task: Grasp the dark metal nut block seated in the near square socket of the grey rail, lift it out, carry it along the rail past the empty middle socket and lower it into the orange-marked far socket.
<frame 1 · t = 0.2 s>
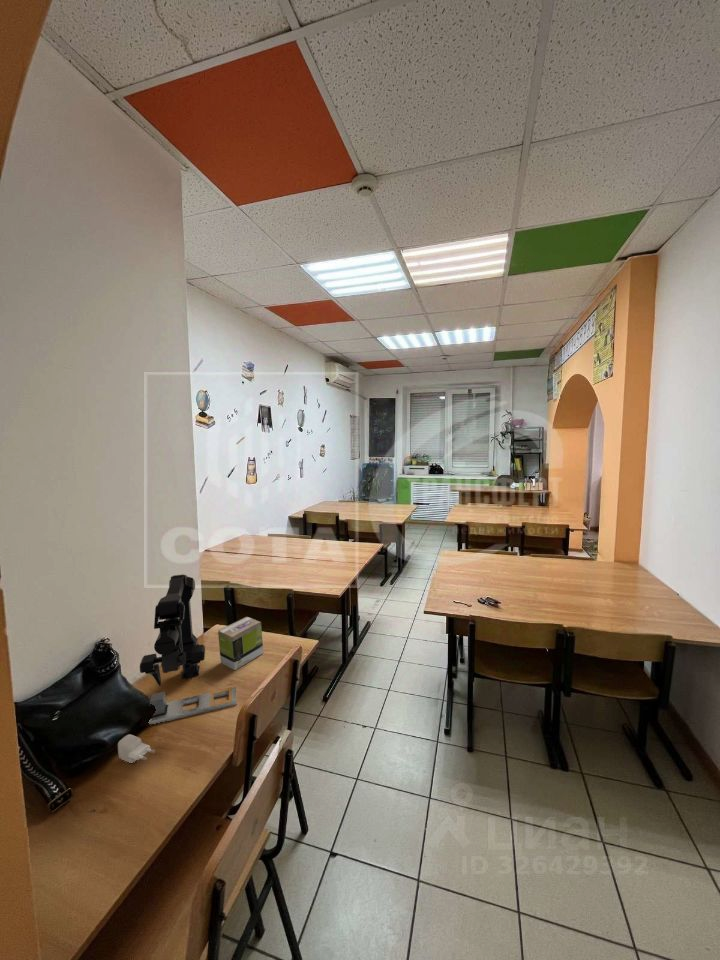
hand: (175, 682, 125), 14 cm above the table, fingers open, 9 cm apart
nut block: (159, 715, 129), resting in rail
tea box: (242, 658, 161), on the table
rail: (191, 708, 132), on the table
power adapter: (137, 761, 111), on the table
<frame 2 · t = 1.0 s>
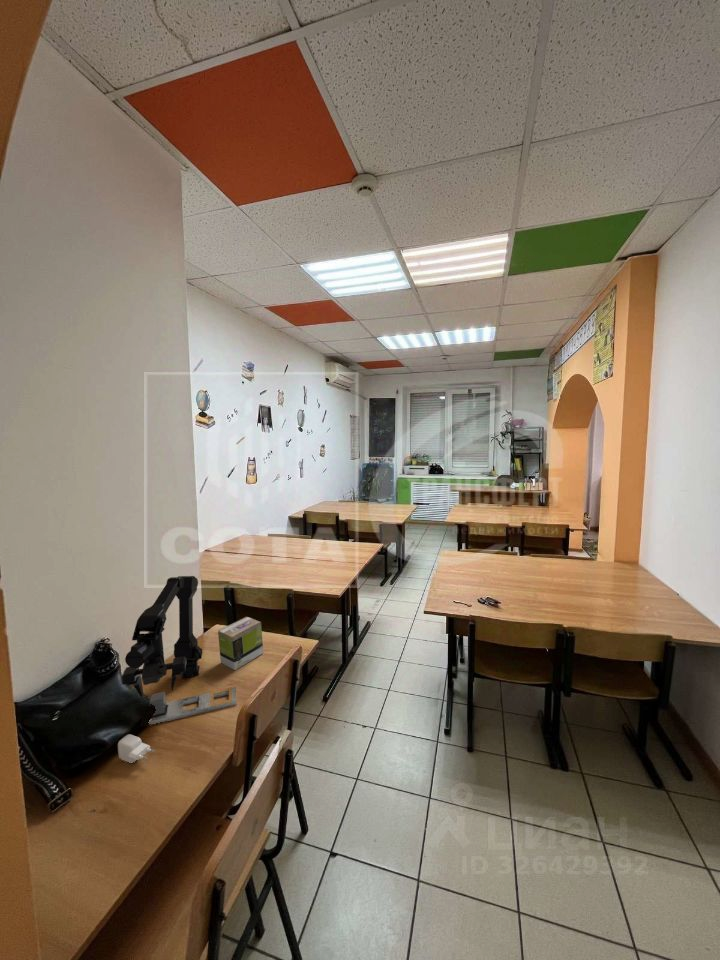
hand: (157, 693, 128), 8 cm above the table, fingers open, 9 cm apart
nothing on the table moved.
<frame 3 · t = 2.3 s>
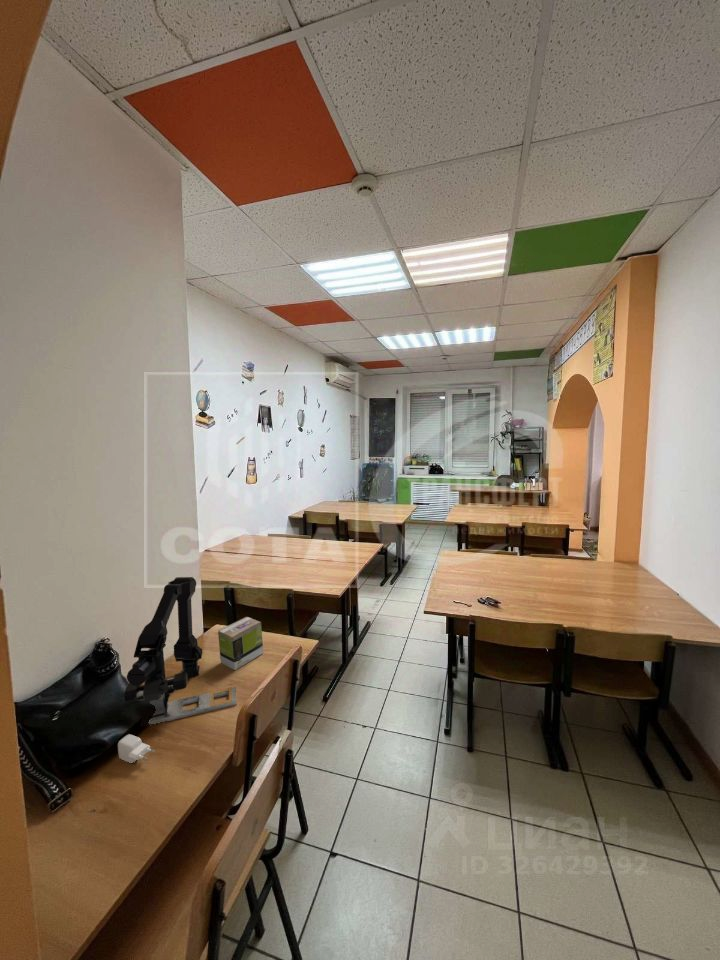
hand: (158, 709, 128), 2 cm above the table, fingers closed on nut block, 4 cm apart
nut block: (159, 715, 129), resting in rail, touching gripper
everything else where it was.
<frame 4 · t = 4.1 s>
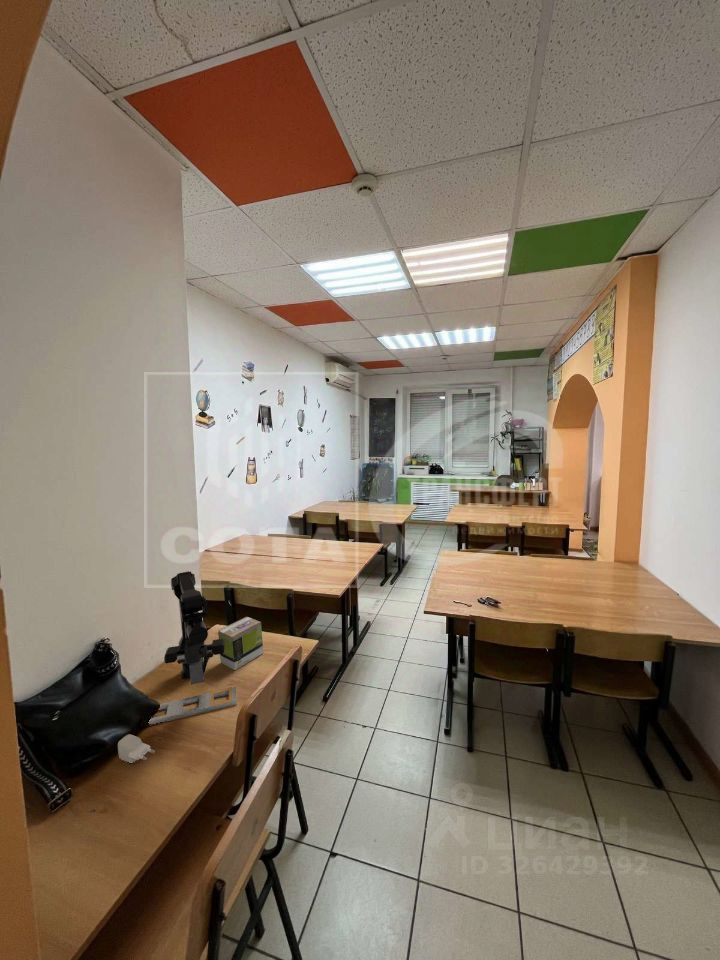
hand: (197, 673, 131), 12 cm above the table, fingers closed on nut block, 4 cm apart
nut block: (197, 679, 131), point 10 cm above the table, touching gripper
everything else where it was.
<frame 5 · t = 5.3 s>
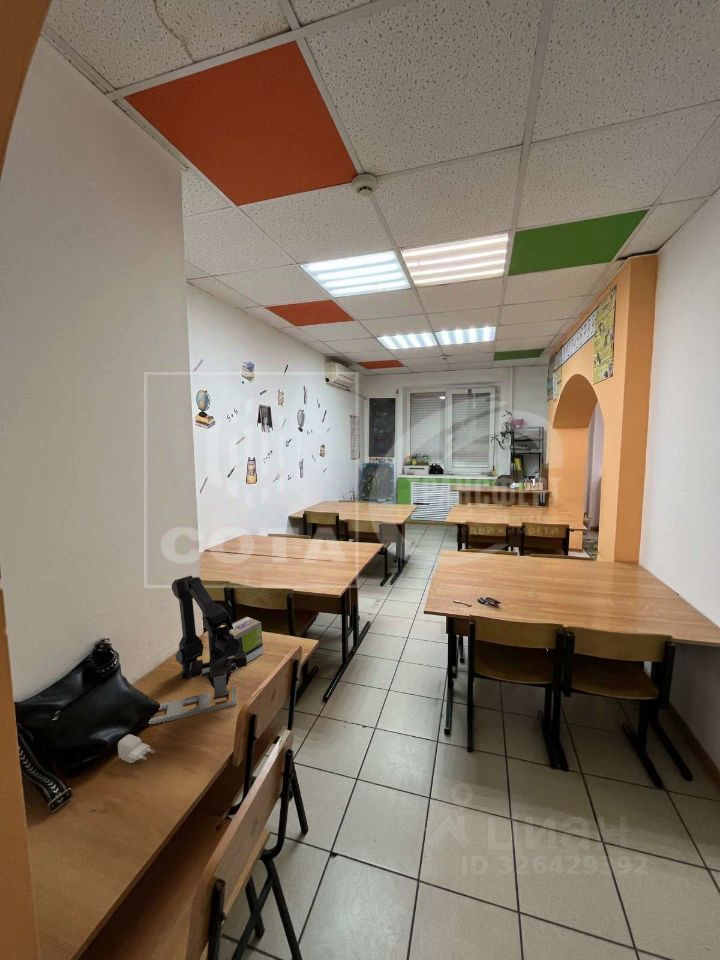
hand: (220, 686, 135), 6 cm above the table, fingers closed on nut block, 4 cm apart
nut block: (220, 692, 135), point 3 cm above the table, touching gripper
everything else where it was.
when the fingers open (3 cm above the table, at t = 6.1 s): nut block stays where it is, resting in rail.
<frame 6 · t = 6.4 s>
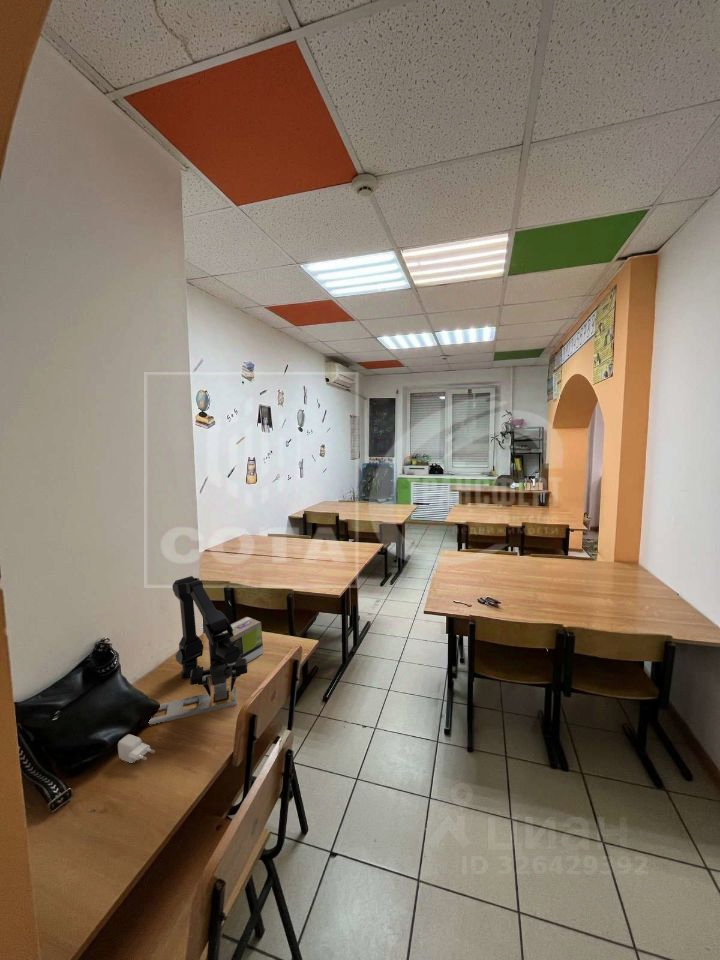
hand: (220, 693, 135), 3 cm above the table, fingers open, 7 cm apart
nut block: (221, 701, 135), resting in rail
everything else where it was.
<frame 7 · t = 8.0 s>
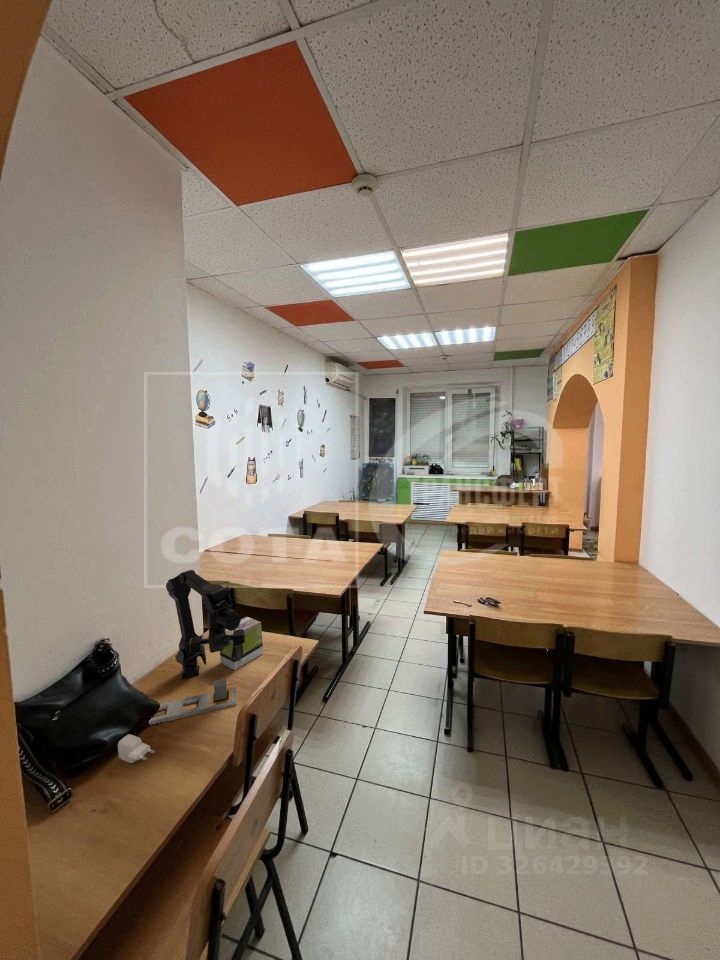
hand: (219, 661, 138), 12 cm above the table, fingers open, 9 cm apart
nothing on the table moved.
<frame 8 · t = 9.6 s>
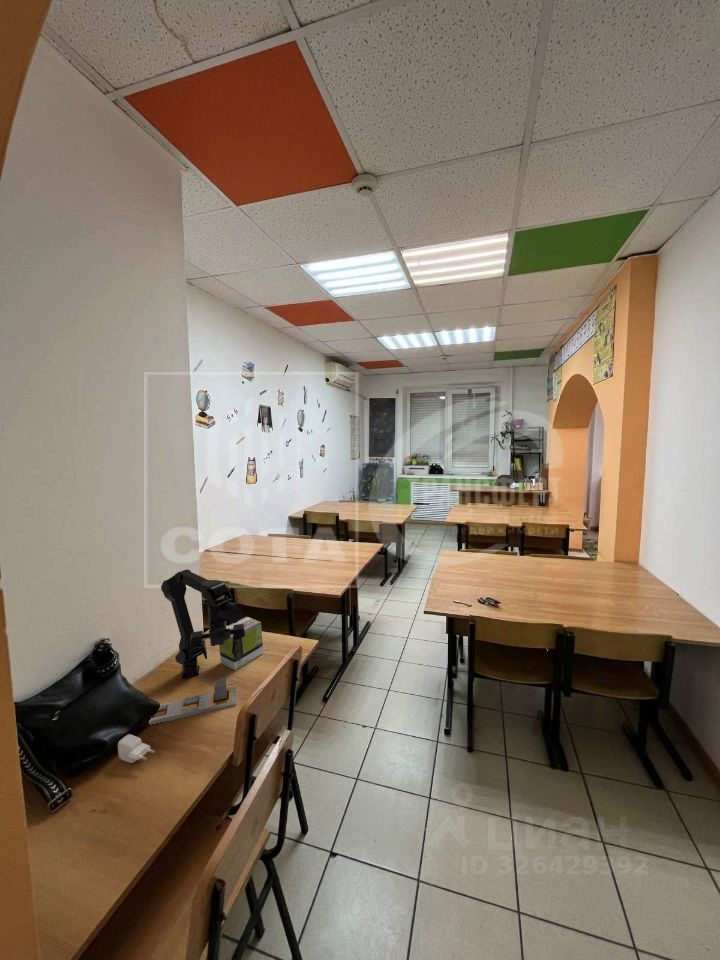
hand: (219, 656, 141), 13 cm above the table, fingers open, 9 cm apart
nothing on the table moved.
at the end: nut block 0.1 cm from the target spot on the rail, point 0.0 cm above the rail's base; nut block tilted 0°; the gripper is holding nothing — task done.
